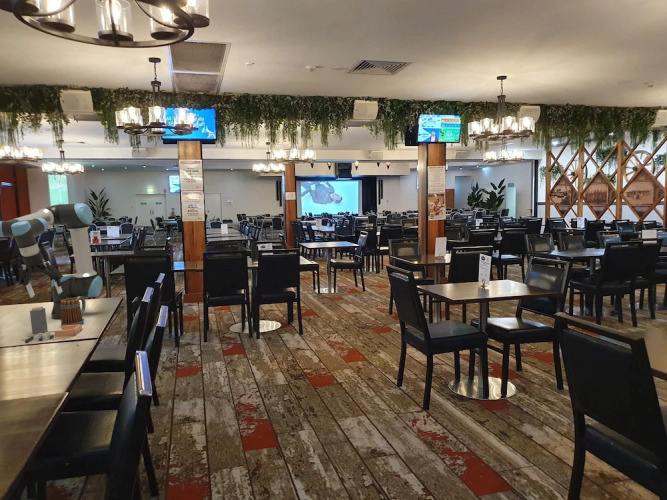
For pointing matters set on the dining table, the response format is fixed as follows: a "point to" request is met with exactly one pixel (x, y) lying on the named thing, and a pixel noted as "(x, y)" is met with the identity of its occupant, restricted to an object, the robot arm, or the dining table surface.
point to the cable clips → (45, 336)
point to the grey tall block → (38, 320)
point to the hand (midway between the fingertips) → (46, 294)
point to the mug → (72, 311)
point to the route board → (48, 338)
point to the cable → (39, 338)
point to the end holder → (68, 330)
